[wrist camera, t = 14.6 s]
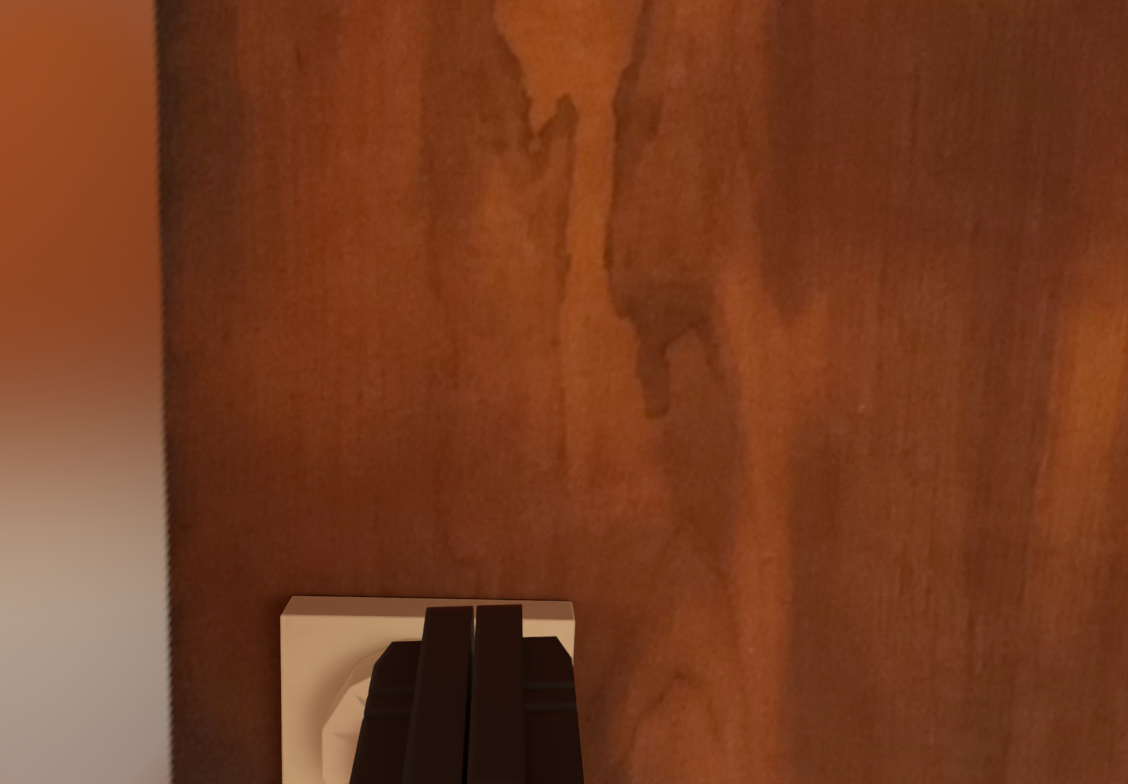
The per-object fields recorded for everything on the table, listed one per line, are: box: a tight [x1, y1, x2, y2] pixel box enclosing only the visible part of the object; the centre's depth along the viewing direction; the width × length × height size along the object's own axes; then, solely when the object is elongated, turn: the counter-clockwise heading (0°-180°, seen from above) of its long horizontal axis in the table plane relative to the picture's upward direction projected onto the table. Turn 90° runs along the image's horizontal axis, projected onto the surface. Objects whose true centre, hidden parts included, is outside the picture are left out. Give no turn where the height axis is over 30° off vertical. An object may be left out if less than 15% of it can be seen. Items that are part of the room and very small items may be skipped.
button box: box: [280, 596, 575, 784], centre depth 31 cm, size 10×8×4 cm
